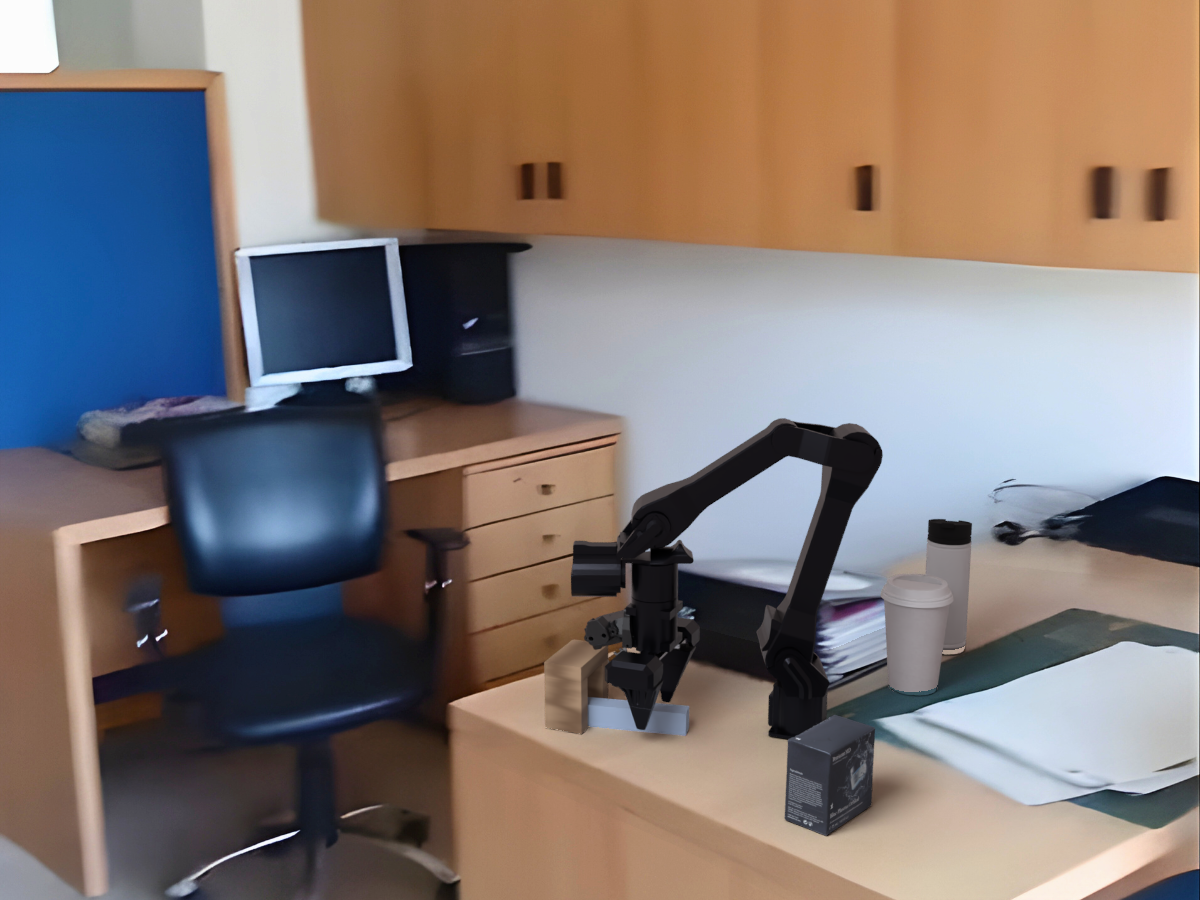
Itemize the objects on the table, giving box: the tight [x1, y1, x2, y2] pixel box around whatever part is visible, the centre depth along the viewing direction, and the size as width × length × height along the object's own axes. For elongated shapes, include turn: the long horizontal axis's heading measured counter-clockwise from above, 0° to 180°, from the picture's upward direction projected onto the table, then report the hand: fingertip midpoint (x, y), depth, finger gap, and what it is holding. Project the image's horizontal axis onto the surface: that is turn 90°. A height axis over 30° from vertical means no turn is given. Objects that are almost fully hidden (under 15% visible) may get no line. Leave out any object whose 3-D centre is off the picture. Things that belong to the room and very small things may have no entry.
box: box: [783, 714, 876, 836], centre depth 134 cm, size 9×6×10 cm, turn 138°
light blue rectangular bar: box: [588, 697, 690, 737], centre depth 158 cm, size 16×3×3 cm, turn 77°
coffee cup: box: [880, 573, 954, 692], centre depth 169 cm, size 10×10×15 cm
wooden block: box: [543, 639, 609, 735], centre depth 159 cm, size 5×9×9 cm, turn 158°
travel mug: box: [924, 518, 973, 650], centre depth 183 cm, size 6×7×20 cm
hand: (653, 715), depth 156 cm, fingers open, 9 cm apart
